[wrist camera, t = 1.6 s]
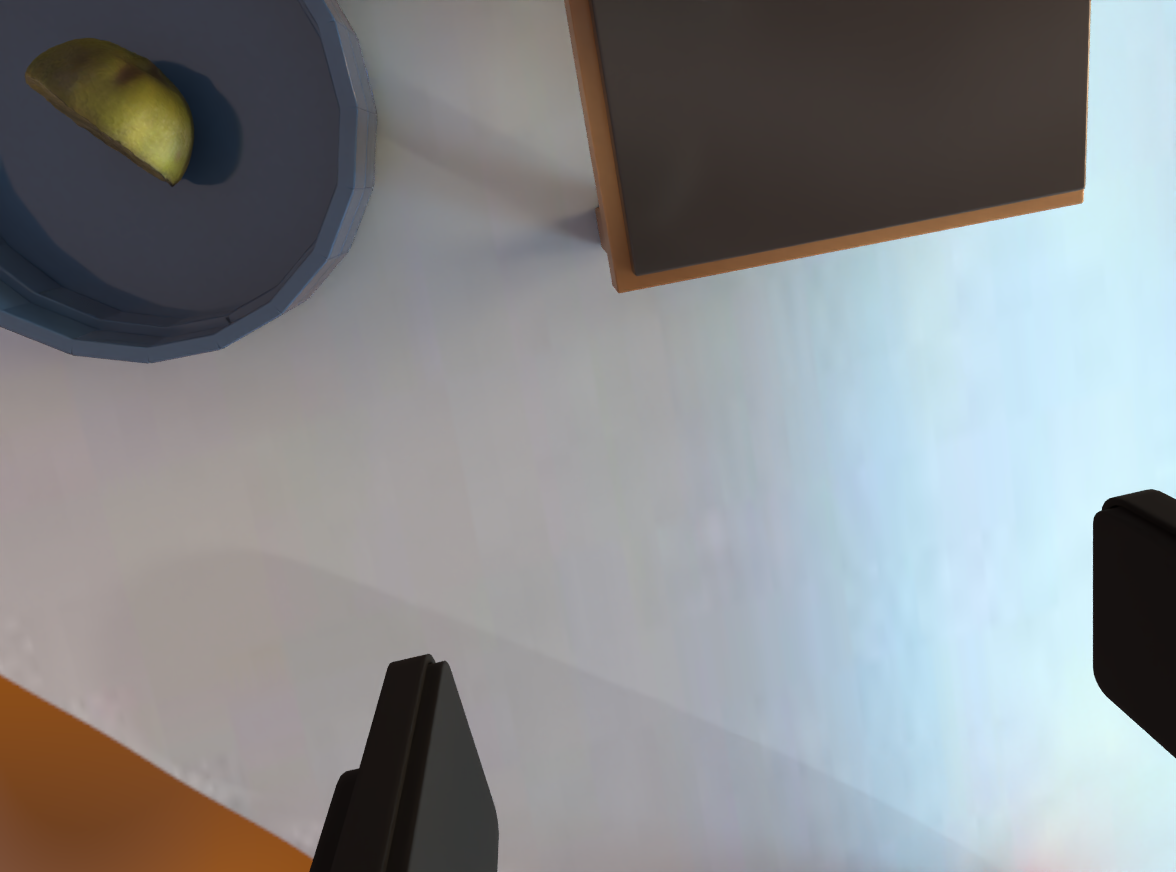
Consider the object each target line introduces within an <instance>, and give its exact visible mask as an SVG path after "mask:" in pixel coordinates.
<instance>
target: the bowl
mask: <svg viewBox="0 0 1176 872" xmlns="http://www.w3.org/2000/svg"><path fill="white" fill-rule="evenodd" d="M82 38H95V39H98V40H105V41H110V42H112V43H114V44H117V45H119V46H121V47H122V48H125V49H127V50H129V51H131V52H134V53H136V54H137V55H140V56H142V57H146V58H148V59H149V60H150V61H151V62H152V63H153V64H154V65H156V67H157V68H159V69H160V70H161V71H162V73H163V74H164V75H165V76H166V77H167V78H169V80H170V81H171V82H172V83H173V84H174V85H175V86H176V87H177V88H178V90H179V91H180V92H181V94H182V95H183V96H184V98H185V100H186V102H187V103H188V105H189V108H190V111H191V114H192V118H193V124H194V142H193V148H192V154H191V158H190V161H189V165H188V167H187V170H186V172H185V173H184V175H183V177H182V179H181V180H180V181H179V182H178V183H177V184H175V186H173V187H171V186H170V185H169V184H168V183H167V182H166V181H161V180H160V179H158V178H157V177H154V176H153V175H152V174H150V173H148V172H147V171H145V170H143V169H142V168H141V167H139V166H137V164H135V163H133V162H132V161H131V160H130V159H128V158H127V157H126V156H124V155H123V154H121V153H120V152H119V151H116V150H114V149H113V148H111V147H109V146H108V145H106V144H105V143H104V142H103V141H102V140H100V139H98V138H97V137H95V136H94V135H92V134H91V133H90V132H89V131H88V130H86V129H85V128H82V127H79V126H78V125H77V124H76V123H75V122H74V121H73V120H72V119H71V118H69V117H67V116H66V115H65V114H64V113H62V112H60V111H59V110H58V109H56V108H55V107H54V106H53V105H52V104H51V103H50V102H48V101H47V100H46V98H44V96H42V95H41V94H39V93H38V92H37V91H35V90H33V89H32V88H31V87H30V86H29V85H28V84H27V83H26V81H25V80H26V79H25V73H26V71H27V68H28V66H29V65H30V64H31V62H32V61H33V60H34V59H35V58H36V57H37V56H39V55H40V54H41V53H43V52H45V51H47V50H48V49H49V48H51V47H55V46H56V45H60V44H62V43H65V42H67V41H71V40H74V39H82ZM376 114H377V111H376V107H375V103H374V99H373V95H372V91H371V87H370V84H369V80H368V76H367V72H366V68H365V64H364V60H363V56H362V52H361V48H360V44H359V40H358V38H357V36H356V34H355V32H354V30H353V28H352V27H351V25H350V23H349V21H348V20H347V18H346V16H345V14H344V13H343V11H342V9H341V8H340V6H339V4H338V2H337V1H336V0H0V327H2V328H5V329H7V330H10V331H12V332H15V333H18V334H20V335H23V336H25V337H28V338H30V339H33V340H35V341H38V342H40V343H43V344H45V345H48V346H50V347H53V348H55V349H58V350H60V351H63V352H65V353H68V354H72V355H74V356H83V357H92V358H101V359H111V360H120V361H129V362H138V363H155V362H161V361H166V360H171V359H176V358H181V357H186V356H191V355H197V354H202V353H207V352H212V351H217V350H220V349H223V348H225V347H227V346H229V345H230V344H232V343H234V342H236V341H237V340H239V339H241V338H243V337H244V336H246V335H248V334H250V333H251V332H253V331H255V330H256V329H258V328H260V327H262V326H263V325H265V324H267V323H269V322H270V321H272V320H274V319H276V318H277V317H279V316H281V315H283V314H284V313H286V312H288V311H289V310H291V309H293V308H295V307H296V306H298V305H300V304H301V303H303V302H305V301H306V300H307V299H309V298H310V297H311V296H312V295H313V293H314V292H315V291H316V290H317V289H318V287H319V286H320V285H321V284H322V283H323V282H324V280H325V279H326V278H327V277H328V276H329V274H330V273H331V272H332V271H333V270H334V269H335V267H336V266H337V265H338V264H339V263H340V262H341V260H342V259H343V258H344V257H345V256H346V254H347V253H348V252H349V249H350V248H351V246H352V243H353V241H354V238H355V235H356V233H357V230H358V227H359V225H360V222H361V220H362V217H363V214H364V212H365V209H366V206H367V204H368V201H369V199H370V196H371V193H372V191H373V188H372V187H373V186H374V173H375V152H376V130H377V115H376Z"/></svg>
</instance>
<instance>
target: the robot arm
mask: <svg viewBox="0 0 1176 872" xmlns="http://www.w3.org/2000/svg"><path fill="white" fill-rule="evenodd" d="M1093 671H1094V676H1095V679H1096V681H1097V683H1098V686H1099V687H1100V689H1101V690H1102V692H1103V693H1104V694H1105V695H1106V696H1107V697H1108V698H1109V699H1110V700H1111V701H1112V702H1113V703H1114V704H1116V705H1117V706H1118V707H1119V708H1120V709H1121V710H1122V711H1123V712H1124V713H1126V714H1127V715H1128V716H1129V717H1130V718H1131V719H1132V720H1133V721H1135V722H1136V723H1137V724H1138V725H1139V726H1140V727H1141V728H1142V729H1144V730H1145V731H1146V732H1147V733H1148V734H1149V735H1150V736H1151V737H1152V738H1154V739H1155V740H1156V741H1157V742H1158V743H1159V744H1160V745H1161V746H1163V747H1164V748H1165V749H1166V750H1167V751H1168V752H1169V753H1170V754H1171V755H1173V756H1174V757H1175V758H1176V499H1174V498H1172V497H1170V496H1168V495H1166V494H1164V493H1162V492H1160V491H1157V490H1154V489H1150V490H1144V491H1139V492H1135V493H1131V494H1126V495H1122V496H1117V497H1113V498H1109V499H1108V500H1107V501H1105V503H1104V505H1103V507H1102V511H1099V512H1098V513H1096V515H1095V517H1094V521H1093ZM498 840H499V830H498V820H497V814H496V810H495V806H494V803H493V800H492V796H491V793H490V790H489V787H488V784H487V781H486V778H485V775H484V772H483V768H482V765H481V762H480V759H479V756H478V753H477V750H476V747H475V744H474V740H473V737H472V734H471V731H470V728H469V725H468V722H467V719H466V716H465V712H464V709H463V706H462V703H461V700H460V697H459V694H458V691H457V688H456V684H455V681H454V678H453V675H452V672H451V669H450V666H449V664H448V663H447V662H446V661H442V662H438V663H435V660H434V659H433V657H432V655H430V654H426V655H422V656H417V657H413V658H409V659H404V660H400V661H395V662H392V663H390V664H389V666H388V668H387V672H386V676H385V679H384V683H383V686H382V690H381V693H380V697H379V700H378V704H377V707H376V711H375V715H374V718H373V722H372V725H371V729H370V732H369V736H368V739H367V743H366V746H365V750H364V754H363V757H362V761H361V764H360V768H359V769H355V770H350V771H346V772H345V773H343V774H342V775H341V776H340V778H339V781H338V783H337V785H336V788H335V791H334V794H333V798H332V801H331V804H330V807H329V811H328V814H327V817H326V820H325V823H324V827H323V830H322V833H321V836H320V839H319V843H318V846H317V849H316V852H315V855H314V859H313V862H312V865H311V868H310V872H497V864H498Z"/></svg>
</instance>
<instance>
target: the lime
mask: <svg viewBox="0 0 1176 872" xmlns="http://www.w3.org/2000/svg"><path fill="white" fill-rule="evenodd" d="M25 79H26V80H25V81H26V83H27V84H28V85H29V86H30V87H31V88H32V89H33V90H35V91H37V92H38V93H39V94H41V95H42V96H44V98H46V100H47V101H48V102H50V103H51V104H52V105H53V106H54V107H55V108H56V109H58V110H59V111H60V112H62V113H64V114H65V115H66V116H67V117H69V118H71V119H72V120H73V121H74V122H75V123H76V124H77V125H78V126H79V127H82V128H85V129H86V130H88V131H89V132H90V133H91V134H92V135H94V136H95V137H97V138H98V139H100V140H102V141H103V142H104V143H105V144H106V145H108V146H109V147H111V148H113V149H114V150H116V151H119V152H120V153H121V154H123V155H124V156H126V157H127V158H128V159H130V160H131V161H132V162H133V163H135V164H137V166H139V167H141V168H142V169H143V170H145V171H147V172H148V173H150V174H152V175H153V176H154V177H157V178H158V179H160V180H161V181H166V182H167V183H168V184H169V185H170V186H171V187H173V186H175V184H177V183H178V182H179V181H180V180H181V179H182V177H183V175H184V173H185V172H186V170H187V167H188V165H189V161H190V158H191V154H192V148H193V142H194V124H193V118H192V114H191V111H190V108H189V105H188V103H187V102H186V100H185V98H184V96H183V95H182V94H181V92H180V91H179V90H178V88H177V87H176V86H175V85H174V84H173V83H172V82H171V81H170V80H169V78H167V77H166V76H165V75H164V74H163V73H162V71H161V70H160V69H159V68H157V67H156V65H154V64H153V63H152V62H151V61H150V60H149V59H148V58H146V57H142V56H140V55H137V54H136V53H134V52H131V51H129V50H127V49H125V48H122V47H121V46H119V45H117V44H114V43H112V42H110V41H105V40H98V39H95V38H82V39H74V40H71V41H67V42H65V43H62V44H60V45H56V46H55V47H51V48H49V49H48V50H47V51H45V52H43V53H41V54H40V55H39V56H37V57H36V58H35V59H34V60H33V61H32V62H31V64H30V65H29V66H28V68H27V71H26V73H25Z"/></svg>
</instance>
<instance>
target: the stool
mask: <svg viewBox="0 0 1176 872" xmlns="http://www.w3.org/2000/svg"><path fill="white" fill-rule="evenodd" d="M564 2H565V8H566V14H567V20H568V26H569V32H570V38H571V43H572V49H573V55H574V61H575V67H576V73H577V79H578V85H579V90H580V96H581V102H582V108H583V114H584V120H585V126H586V132H587V138H588V143H589V149H590V155H591V161H592V167H593V173H594V179H595V185H596V191H597V196H598V202H599V207H598V208H596V209H595V212H596V218H597V224H598V230H599V236H600V241H601V247H602V248H603V249H604V251H605V252H606V253H607V255H608V261H609V267H610V273H611V279H612V285H613V287H614V288H615V289H616V291H617V292H618V293H623V292H629V291H634V290H639V289H644V288H649V287H654V286H659V285H665V284H670V283H675V282H680V281H685V280H690V279H695V278H701V277H706V276H711V275H716V274H721V273H726V272H731V271H737V270H742V269H747V268H752V267H757V266H762V265H767V264H773V263H778V262H783V261H788V260H793V259H798V258H803V257H808V256H814V255H819V254H824V253H829V252H834V251H839V250H844V249H850V248H855V247H860V246H865V245H870V244H875V243H880V242H886V241H891V240H896V239H901V238H906V237H911V236H916V235H922V234H927V233H932V232H937V231H942V230H947V229H952V228H958V227H963V226H968V225H973V224H978V223H983V222H988V221H994V220H999V219H1004V218H1009V217H1014V216H1019V215H1024V214H1029V213H1035V212H1040V211H1045V210H1050V209H1055V208H1060V207H1065V206H1071V205H1076V204H1081V203H1083V198H1084V189H1085V183H1086V149H1087V116H1088V82H1089V48H1090V14H1091V0H564Z"/></svg>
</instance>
